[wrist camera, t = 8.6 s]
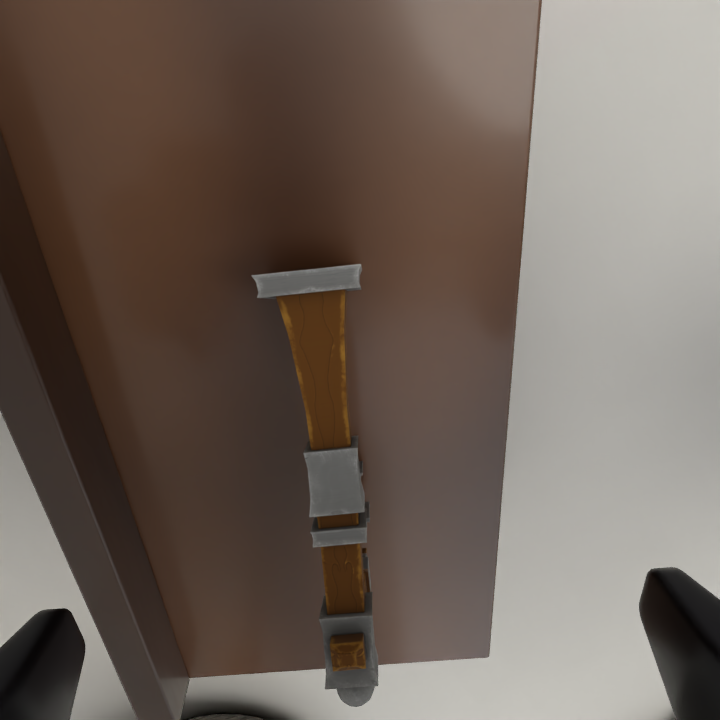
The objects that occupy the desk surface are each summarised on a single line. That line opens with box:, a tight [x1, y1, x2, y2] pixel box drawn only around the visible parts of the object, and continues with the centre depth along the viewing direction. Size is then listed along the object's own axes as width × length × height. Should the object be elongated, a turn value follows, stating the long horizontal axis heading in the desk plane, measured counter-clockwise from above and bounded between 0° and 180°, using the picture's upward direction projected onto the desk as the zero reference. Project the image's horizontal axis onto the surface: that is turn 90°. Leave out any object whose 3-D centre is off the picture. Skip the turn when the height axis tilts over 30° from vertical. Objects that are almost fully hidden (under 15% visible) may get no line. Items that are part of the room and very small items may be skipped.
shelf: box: [0, 0, 542, 720], centre depth 15 cm, size 10×18×8 cm, turn 4°
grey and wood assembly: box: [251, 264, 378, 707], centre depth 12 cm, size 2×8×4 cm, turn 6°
